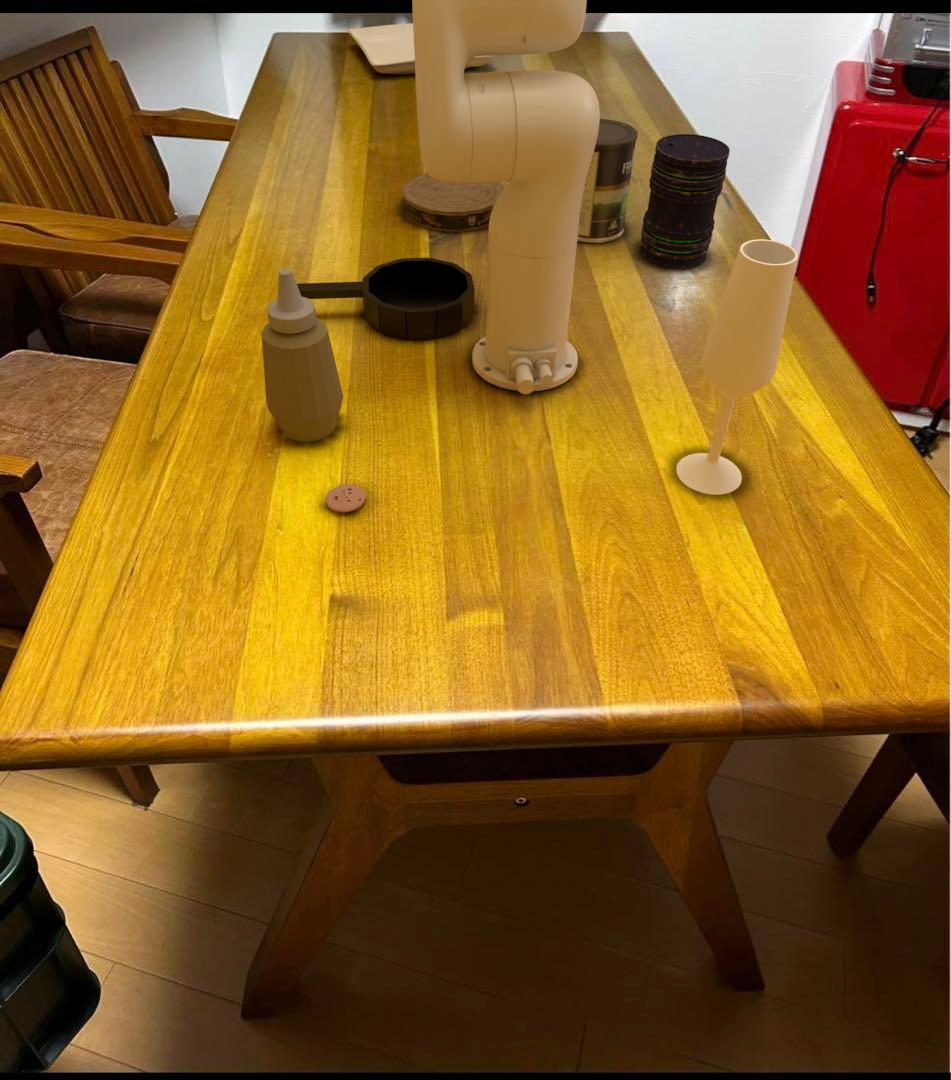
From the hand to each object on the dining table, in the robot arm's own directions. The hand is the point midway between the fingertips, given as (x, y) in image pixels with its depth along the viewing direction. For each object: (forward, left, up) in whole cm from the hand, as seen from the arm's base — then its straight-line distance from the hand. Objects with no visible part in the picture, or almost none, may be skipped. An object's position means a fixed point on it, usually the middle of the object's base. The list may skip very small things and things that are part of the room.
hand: (452, 44), depth 125 cm
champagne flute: (-76, -21, -21) cm, 82 cm away
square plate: (+69, +2, -21) cm, 72 cm away
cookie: (-78, +16, -20) cm, 82 cm away
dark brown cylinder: (-28, -30, -21) cm, 46 cm away
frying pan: (-42, +13, -20) cm, 48 cm away
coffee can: (-19, -19, -21) cm, 34 cm away
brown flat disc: (-11, +1, -21) cm, 23 cm away
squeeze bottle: (-65, +21, -21) cm, 71 cm away
